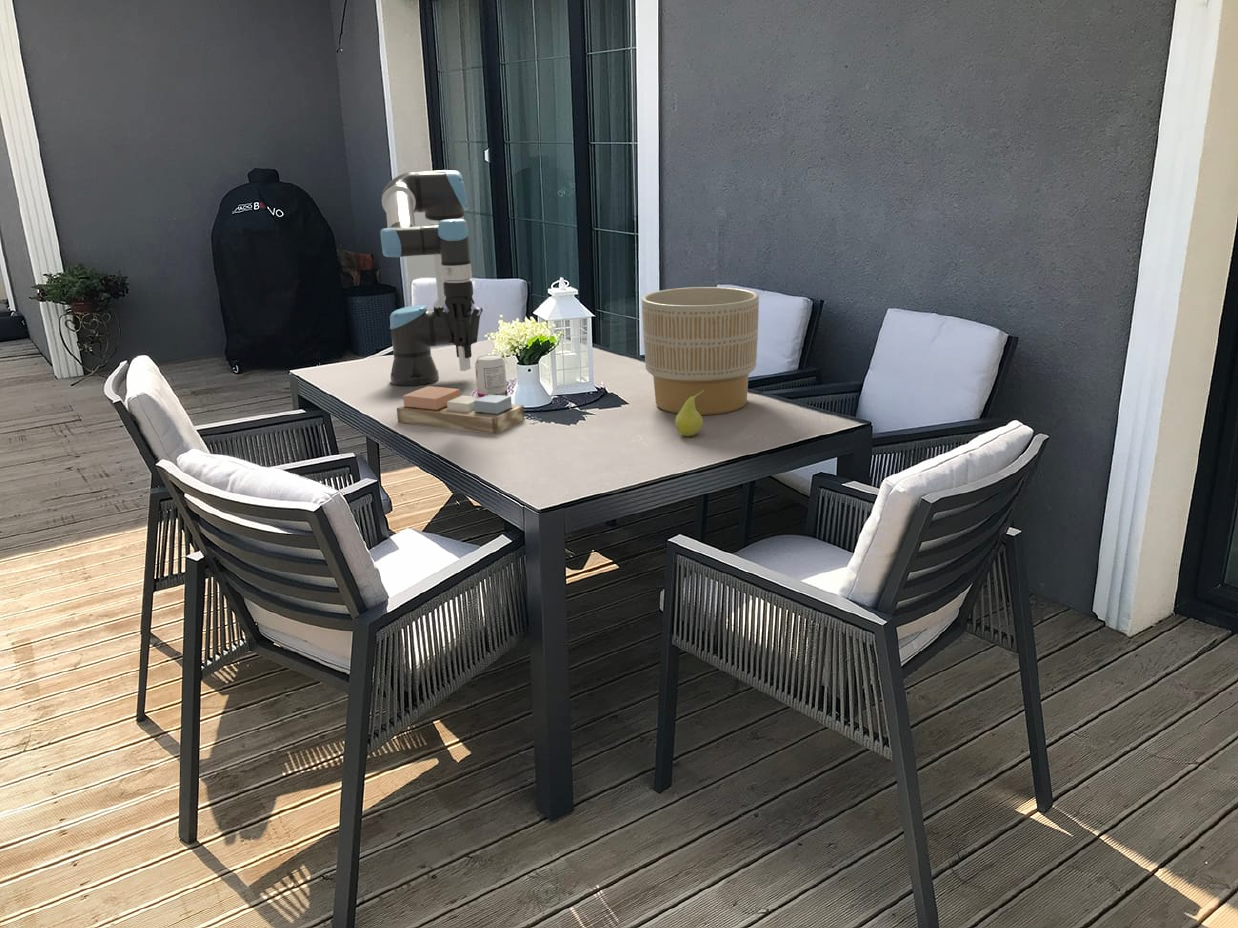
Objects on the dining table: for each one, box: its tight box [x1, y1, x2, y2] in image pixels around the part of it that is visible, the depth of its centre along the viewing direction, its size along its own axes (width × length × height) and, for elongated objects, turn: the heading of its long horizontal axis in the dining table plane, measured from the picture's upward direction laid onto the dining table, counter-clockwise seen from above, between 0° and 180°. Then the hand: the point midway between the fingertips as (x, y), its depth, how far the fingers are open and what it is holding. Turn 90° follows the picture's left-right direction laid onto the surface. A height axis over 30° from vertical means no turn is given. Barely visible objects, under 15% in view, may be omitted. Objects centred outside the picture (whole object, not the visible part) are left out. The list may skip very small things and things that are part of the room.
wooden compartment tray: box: [396, 403, 525, 435], centre depth 271 cm, size 14×32×4 cm, turn 63°
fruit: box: [674, 389, 705, 437], centre depth 249 cm, size 7×8×12 cm
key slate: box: [474, 394, 513, 416], centre depth 265 cm, size 7×7×4 cm
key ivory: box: [447, 394, 481, 413], centre depth 270 cm, size 7×7×4 cm
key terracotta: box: [402, 385, 462, 412], centre depth 274 cm, size 11×11×4 cm
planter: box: [641, 286, 760, 416], centre depth 275 cm, size 32×32×30 cm
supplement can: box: [474, 354, 508, 397], centre depth 279 cm, size 8×8×15 cm
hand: (465, 369), depth 266 cm, fingers closed
